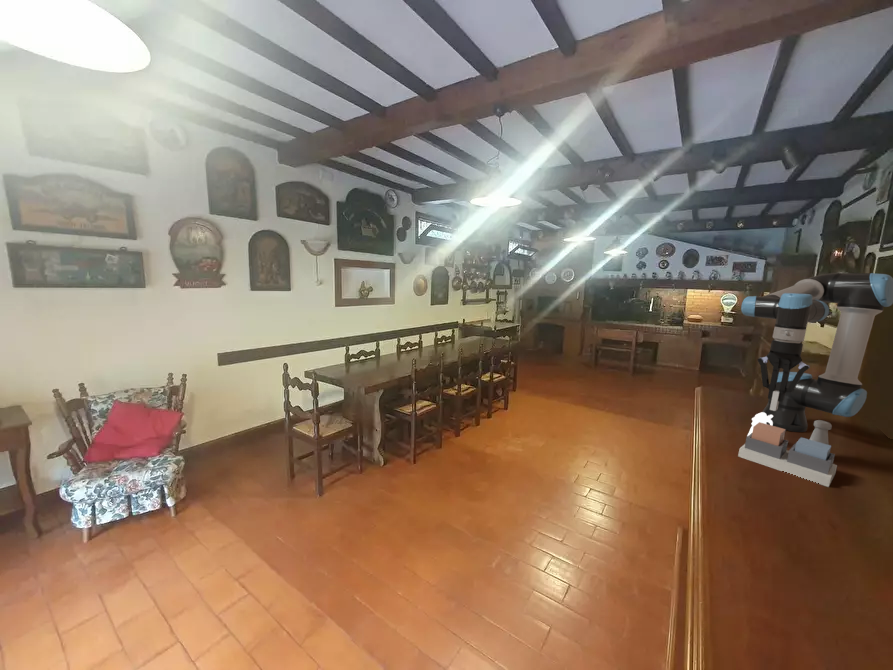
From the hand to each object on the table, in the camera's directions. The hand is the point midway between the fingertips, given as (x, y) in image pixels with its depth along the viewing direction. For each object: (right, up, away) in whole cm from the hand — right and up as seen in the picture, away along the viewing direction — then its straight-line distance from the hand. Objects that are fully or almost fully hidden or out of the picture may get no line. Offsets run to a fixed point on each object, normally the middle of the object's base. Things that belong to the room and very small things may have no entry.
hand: (773, 409), depth 122 cm
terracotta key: (0, -11, +2) cm, 12 cm away
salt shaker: (+20, -18, +6) cm, 28 cm away
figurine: (+8, -16, +15) cm, 23 cm away
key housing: (+3, -18, -1) cm, 18 cm away
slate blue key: (+6, -14, -6) cm, 17 cm away
